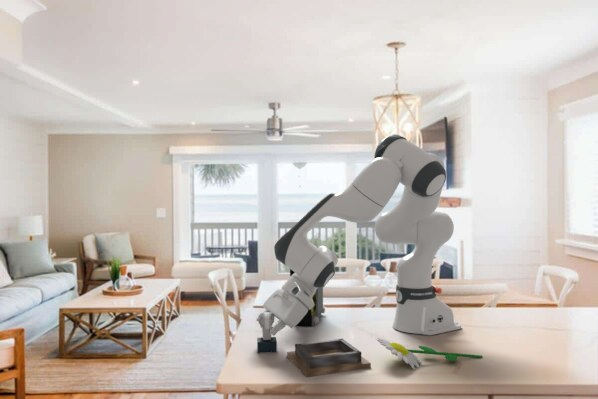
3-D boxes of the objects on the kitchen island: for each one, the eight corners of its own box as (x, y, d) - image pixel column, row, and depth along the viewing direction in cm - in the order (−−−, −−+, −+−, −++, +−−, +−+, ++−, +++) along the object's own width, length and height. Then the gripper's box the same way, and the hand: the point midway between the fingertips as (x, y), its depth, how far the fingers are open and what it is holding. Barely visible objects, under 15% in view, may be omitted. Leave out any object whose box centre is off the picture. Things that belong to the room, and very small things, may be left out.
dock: (345, 348, 143) (345, 336, 143) (370, 367, 128) (370, 353, 128) (287, 356, 137) (286, 343, 137) (306, 376, 122) (305, 362, 122)
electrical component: (318, 327, 165) (317, 268, 164) (288, 326, 167) (287, 268, 166) (325, 314, 182) (325, 260, 181) (298, 313, 184) (298, 260, 183)
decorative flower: (469, 357, 141) (369, 349, 137) (471, 341, 140) (371, 333, 136) (492, 377, 128) (382, 368, 124) (495, 359, 128) (385, 350, 124)
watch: (275, 345, 147) (275, 308, 146) (277, 354, 139) (276, 315, 138) (256, 345, 146) (256, 309, 146) (257, 355, 138) (256, 316, 138)
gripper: (277, 280, 154) (248, 314, 151) (302, 292, 135) (269, 332, 132) (290, 292, 156) (261, 326, 153) (317, 306, 137) (285, 346, 134)
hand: (265, 329), depth 142 cm, fingers open, 8 cm apart
